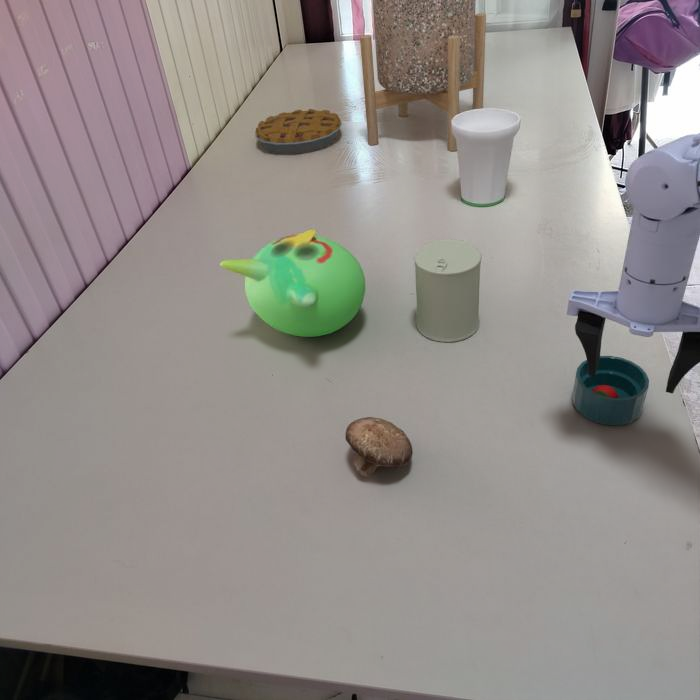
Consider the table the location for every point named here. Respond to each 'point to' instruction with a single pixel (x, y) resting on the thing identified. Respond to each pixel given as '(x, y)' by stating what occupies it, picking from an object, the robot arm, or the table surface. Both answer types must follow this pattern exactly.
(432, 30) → the planter
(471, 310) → the can
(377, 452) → the mushroom
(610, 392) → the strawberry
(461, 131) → the cup
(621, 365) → the bowl
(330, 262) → the toy bird
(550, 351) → the table surface
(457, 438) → the table surface
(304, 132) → the pie
